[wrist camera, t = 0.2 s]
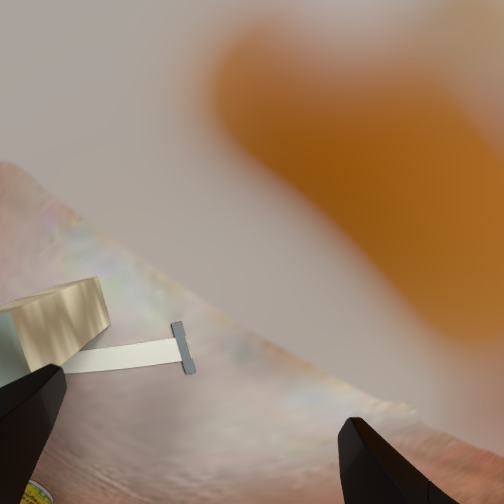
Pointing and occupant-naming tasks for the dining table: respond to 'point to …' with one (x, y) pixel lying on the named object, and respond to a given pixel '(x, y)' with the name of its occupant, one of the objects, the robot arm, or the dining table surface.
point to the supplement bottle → (36, 494)
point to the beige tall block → (49, 327)
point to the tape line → (134, 355)
